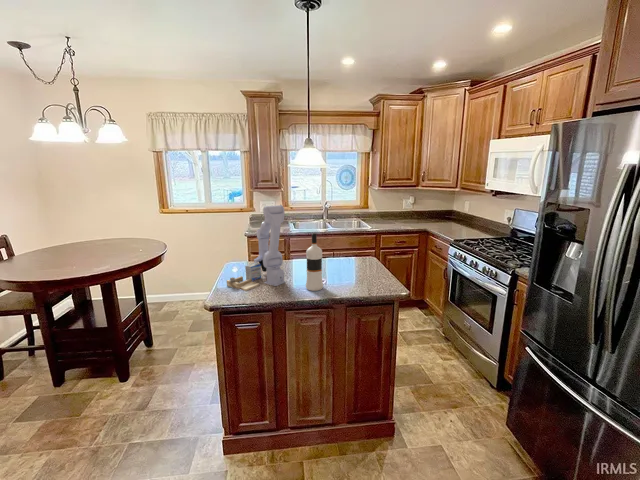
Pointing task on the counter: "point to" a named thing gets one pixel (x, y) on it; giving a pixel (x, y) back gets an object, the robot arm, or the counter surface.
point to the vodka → (314, 266)
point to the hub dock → (241, 283)
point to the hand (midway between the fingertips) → (264, 271)
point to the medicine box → (253, 271)
